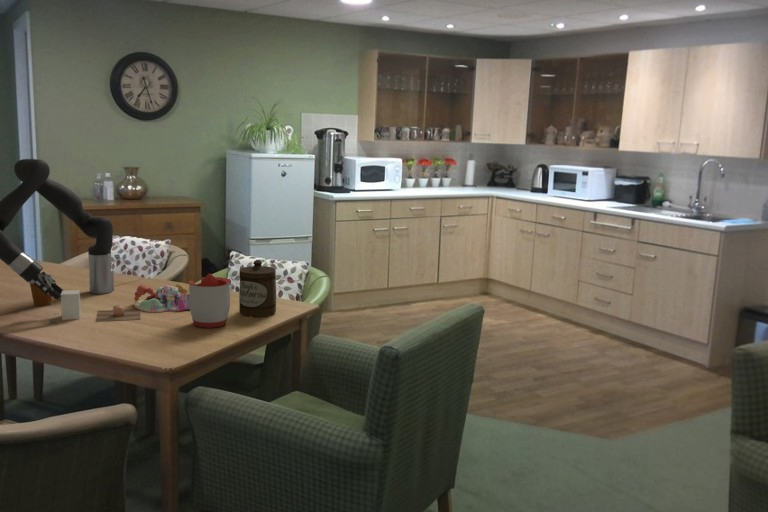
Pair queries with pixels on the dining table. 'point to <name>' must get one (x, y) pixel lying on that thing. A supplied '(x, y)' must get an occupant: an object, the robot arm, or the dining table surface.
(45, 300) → the disposable coffee cup
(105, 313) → the board
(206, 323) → the citrus juicer
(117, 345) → the dining table surface
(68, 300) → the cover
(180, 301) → the pastel sphere sculpture
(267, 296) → the wooden container
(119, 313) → the glossy tan pebble
